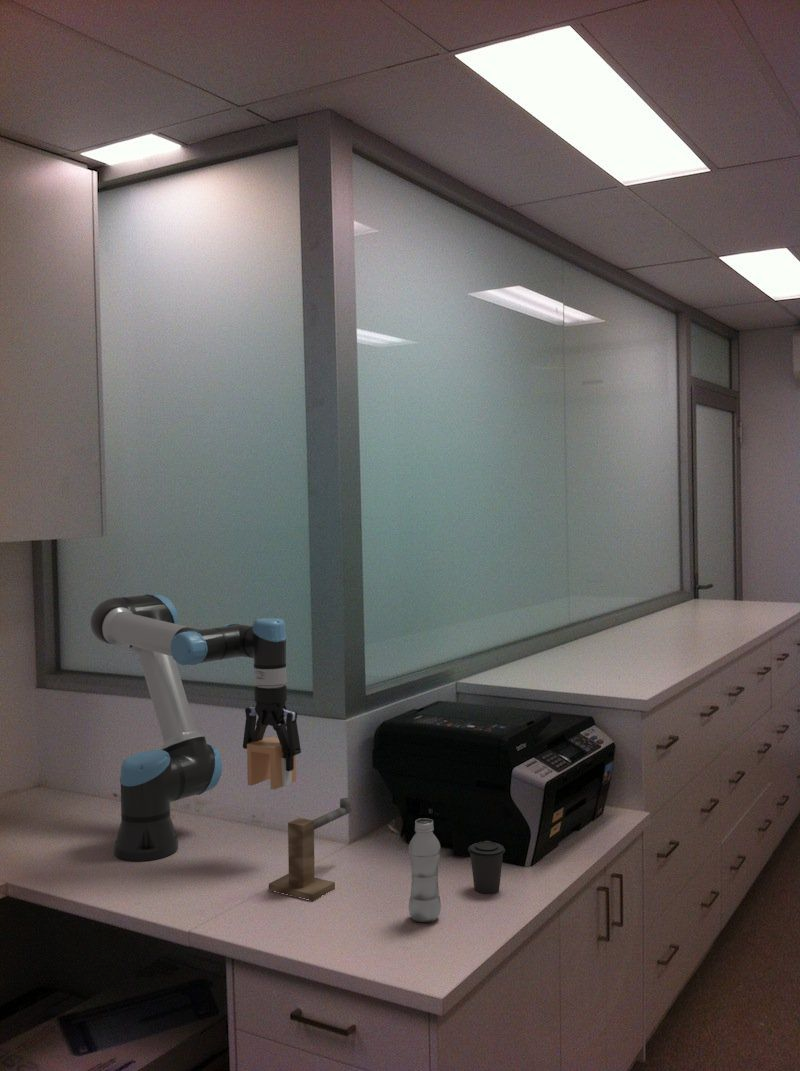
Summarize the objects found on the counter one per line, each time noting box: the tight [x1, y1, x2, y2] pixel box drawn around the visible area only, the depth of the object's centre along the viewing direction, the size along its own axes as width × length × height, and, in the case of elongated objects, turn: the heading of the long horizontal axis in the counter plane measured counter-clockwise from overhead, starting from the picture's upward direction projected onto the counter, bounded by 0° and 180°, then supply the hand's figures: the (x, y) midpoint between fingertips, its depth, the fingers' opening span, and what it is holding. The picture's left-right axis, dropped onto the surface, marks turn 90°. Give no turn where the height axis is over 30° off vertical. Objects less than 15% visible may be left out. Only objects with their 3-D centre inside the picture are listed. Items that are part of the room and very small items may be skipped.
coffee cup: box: [468, 840, 506, 896], centre depth 216 cm, size 8×8×10 cm
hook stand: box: [268, 797, 352, 902], centre depth 223 cm, size 12×22×16 cm, turn 149°
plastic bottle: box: [408, 817, 442, 923], centre depth 201 cm, size 6×7×20 cm
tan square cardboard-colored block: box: [246, 736, 297, 790], centre depth 232 cm, size 8×8×10 cm
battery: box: [452, 833, 471, 857], centre depth 240 cm, size 4×7×10 cm, turn 155°
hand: (272, 781), depth 233 cm, fingers closed on tan square cardboard-colored block, 8 cm apart
